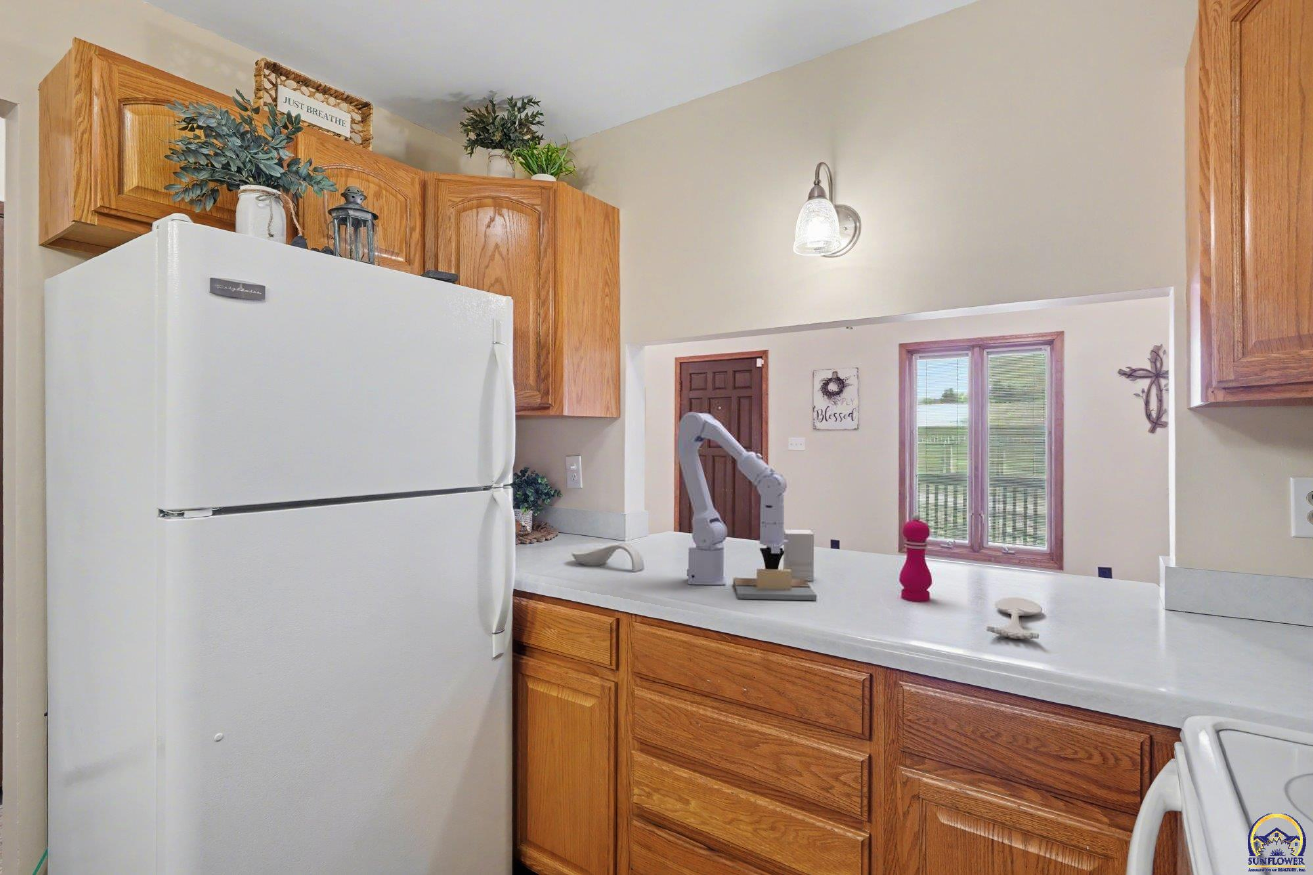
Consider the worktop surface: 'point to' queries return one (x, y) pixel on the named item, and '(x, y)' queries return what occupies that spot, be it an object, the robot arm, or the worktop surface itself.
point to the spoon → (1016, 617)
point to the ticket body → (753, 582)
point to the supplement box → (799, 554)
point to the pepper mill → (915, 562)
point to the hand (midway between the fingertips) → (771, 577)
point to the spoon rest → (608, 556)
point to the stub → (775, 587)
